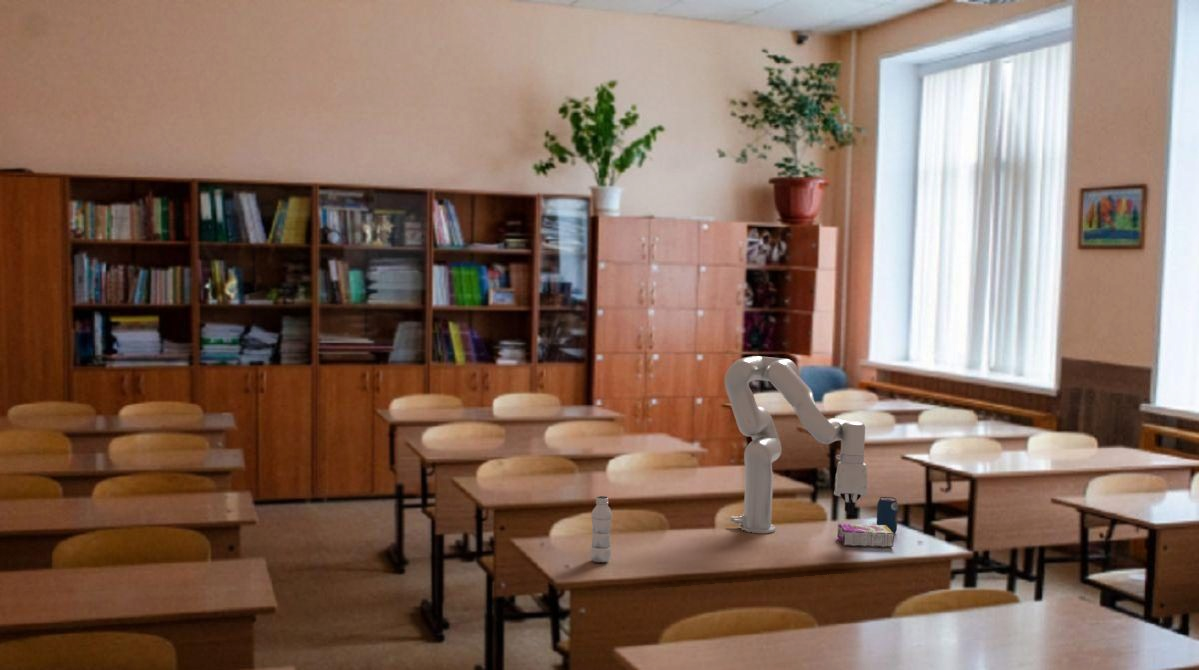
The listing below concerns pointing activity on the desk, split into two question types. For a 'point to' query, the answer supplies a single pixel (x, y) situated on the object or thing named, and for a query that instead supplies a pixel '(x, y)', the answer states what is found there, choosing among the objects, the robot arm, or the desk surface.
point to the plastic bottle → (601, 531)
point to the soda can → (887, 513)
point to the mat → (869, 546)
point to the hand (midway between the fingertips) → (849, 513)
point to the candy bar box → (865, 535)
